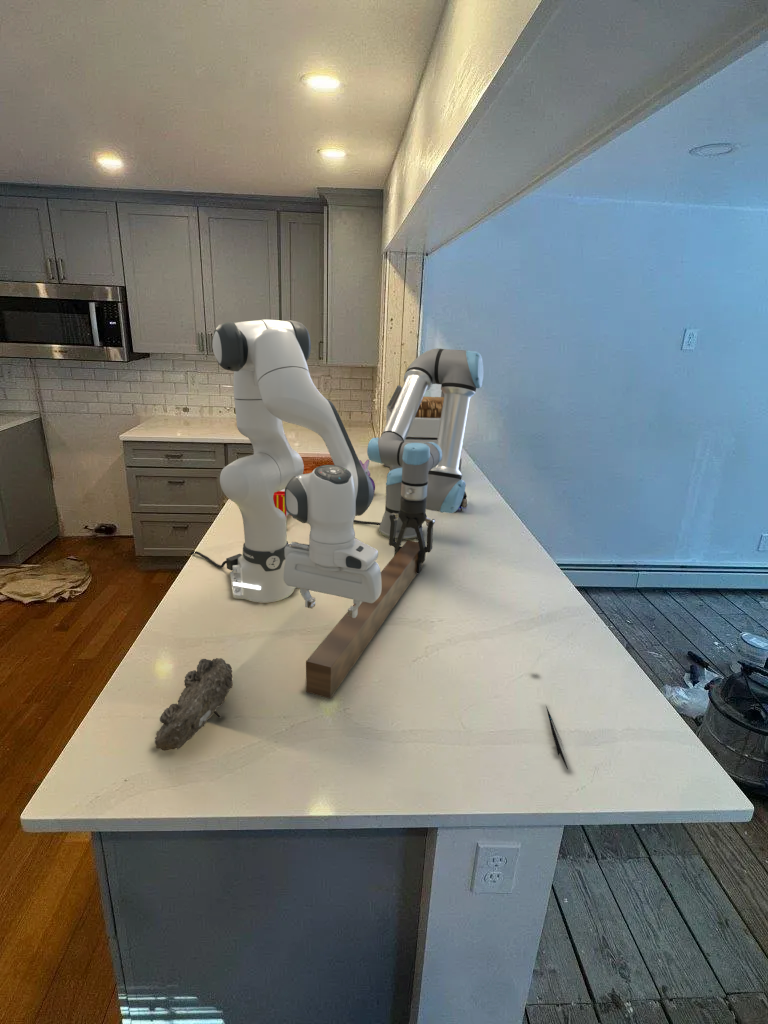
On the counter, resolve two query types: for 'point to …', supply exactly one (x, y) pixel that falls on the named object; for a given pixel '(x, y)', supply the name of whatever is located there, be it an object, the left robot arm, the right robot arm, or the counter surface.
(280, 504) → the toy
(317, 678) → the bar
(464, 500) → the figurine character
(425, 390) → the right robot arm
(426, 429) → the white storage bin
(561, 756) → the feather
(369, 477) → the figurine
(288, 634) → the counter surface
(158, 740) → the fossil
